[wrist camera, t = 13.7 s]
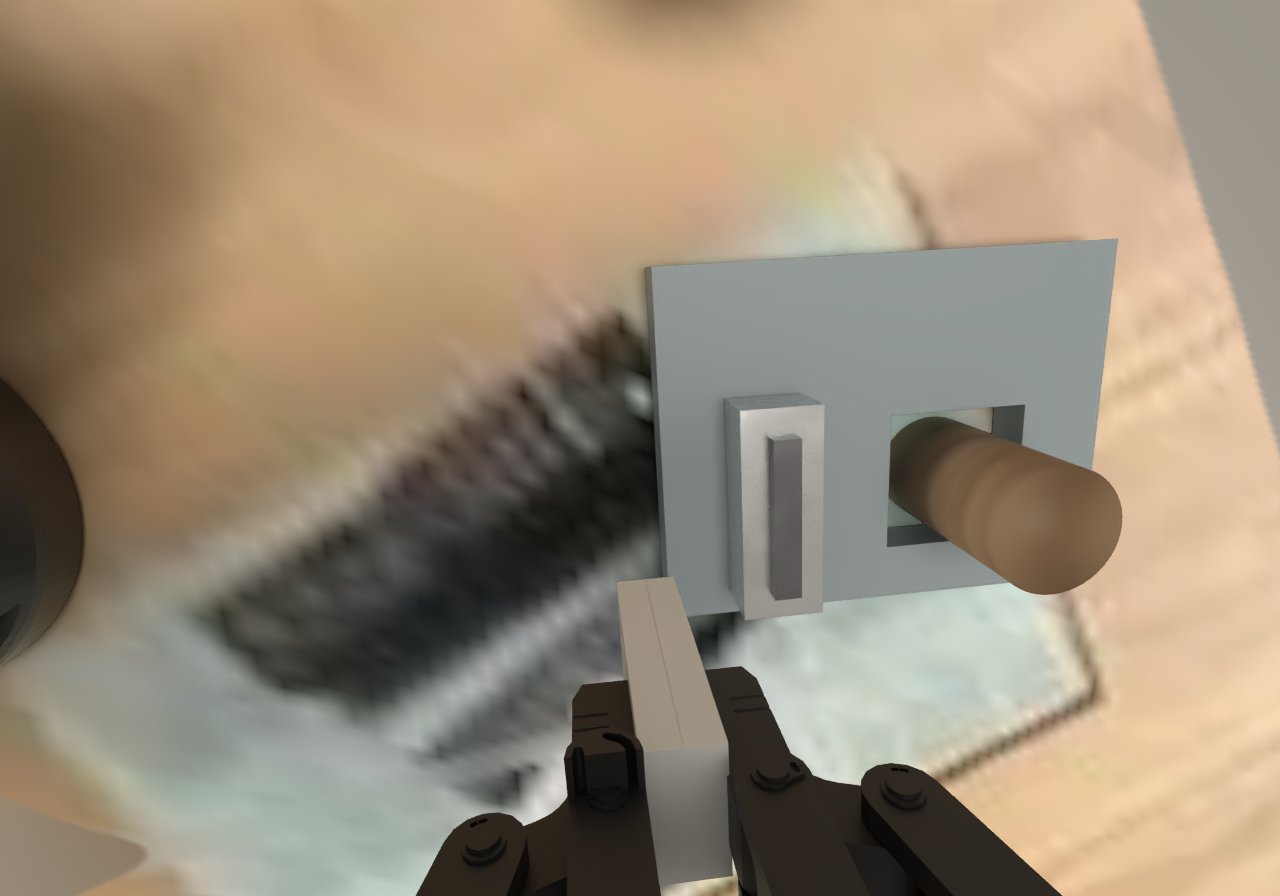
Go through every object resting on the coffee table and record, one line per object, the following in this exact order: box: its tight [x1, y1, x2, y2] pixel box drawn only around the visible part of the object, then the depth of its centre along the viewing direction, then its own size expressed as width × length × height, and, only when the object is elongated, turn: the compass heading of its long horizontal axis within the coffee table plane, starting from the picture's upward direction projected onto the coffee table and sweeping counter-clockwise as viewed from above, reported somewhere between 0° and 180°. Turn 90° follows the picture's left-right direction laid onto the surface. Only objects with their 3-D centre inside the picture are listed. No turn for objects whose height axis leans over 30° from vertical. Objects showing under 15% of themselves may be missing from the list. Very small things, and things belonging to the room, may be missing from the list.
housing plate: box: [645, 239, 1118, 617], centre depth 28 cm, size 18×14×2 cm
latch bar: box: [724, 393, 824, 620], centre depth 25 cm, size 3×8×3 cm, turn 3°
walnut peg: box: [889, 417, 1122, 595], centre depth 26 cm, size 4×4×8 cm
